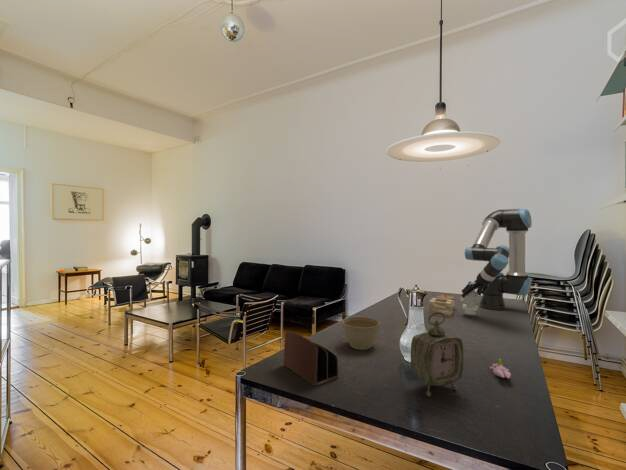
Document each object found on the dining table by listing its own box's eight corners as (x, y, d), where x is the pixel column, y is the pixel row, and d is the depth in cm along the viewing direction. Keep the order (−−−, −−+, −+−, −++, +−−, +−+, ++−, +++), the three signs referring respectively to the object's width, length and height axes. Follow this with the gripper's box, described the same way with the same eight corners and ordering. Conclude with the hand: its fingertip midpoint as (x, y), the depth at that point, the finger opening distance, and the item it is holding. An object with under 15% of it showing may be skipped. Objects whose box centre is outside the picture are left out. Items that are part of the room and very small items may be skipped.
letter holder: (315, 387, 104) (315, 344, 103) (283, 366, 119) (283, 328, 119) (338, 378, 110) (338, 338, 109) (304, 359, 125) (305, 324, 125)
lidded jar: (438, 310, 203) (438, 295, 203) (435, 306, 213) (435, 292, 213) (456, 311, 201) (456, 296, 201) (452, 307, 212) (452, 293, 211)
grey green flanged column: (463, 310, 195) (463, 287, 194) (478, 312, 191) (478, 288, 191) (462, 313, 188) (462, 289, 187) (477, 315, 184) (478, 291, 184)
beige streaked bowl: (432, 310, 203) (432, 297, 203) (452, 312, 198) (452, 299, 197) (429, 314, 193) (429, 301, 193) (450, 317, 187) (450, 303, 187)
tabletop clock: (427, 400, 96) (428, 317, 95) (407, 387, 104) (408, 310, 103) (462, 391, 101) (464, 313, 101) (441, 378, 110) (442, 306, 109)
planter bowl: (334, 346, 140) (334, 321, 139) (356, 337, 151) (356, 314, 151) (365, 356, 129) (366, 329, 128) (386, 345, 140) (386, 321, 140)
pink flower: (487, 370, 120) (495, 381, 106) (487, 353, 121) (494, 362, 107) (506, 373, 118) (516, 384, 104) (505, 356, 119) (516, 365, 105)
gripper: (497, 270, 181) (477, 293, 197) (468, 271, 177) (449, 294, 193) (505, 281, 176) (483, 304, 192) (474, 282, 172) (454, 305, 188)
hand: (466, 299), depth 193 cm, fingers closed on grey green flanged column, 6 cm apart
